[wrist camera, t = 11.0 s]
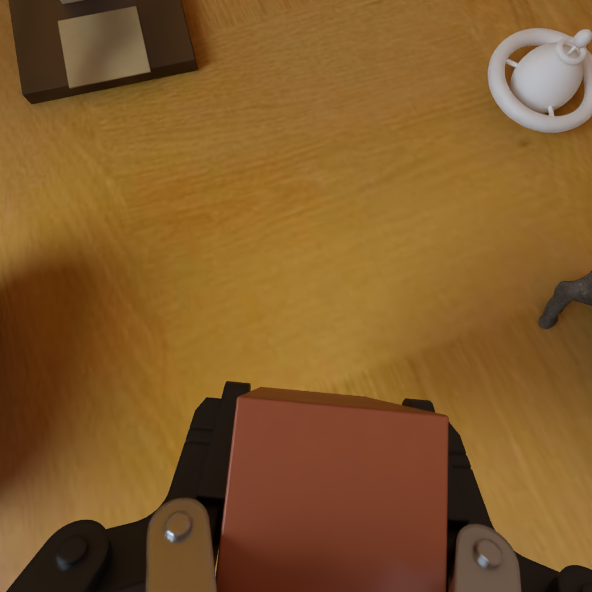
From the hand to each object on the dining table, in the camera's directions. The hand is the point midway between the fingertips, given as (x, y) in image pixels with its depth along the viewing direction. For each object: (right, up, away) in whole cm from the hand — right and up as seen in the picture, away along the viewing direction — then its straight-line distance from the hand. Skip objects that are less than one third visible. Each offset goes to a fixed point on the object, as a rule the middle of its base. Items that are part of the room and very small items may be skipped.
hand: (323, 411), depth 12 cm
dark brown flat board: (-16, +27, +18) cm, 36 cm away
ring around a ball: (+16, +18, +17) cm, 30 cm away
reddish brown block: (0, -3, +5) cm, 6 cm away
